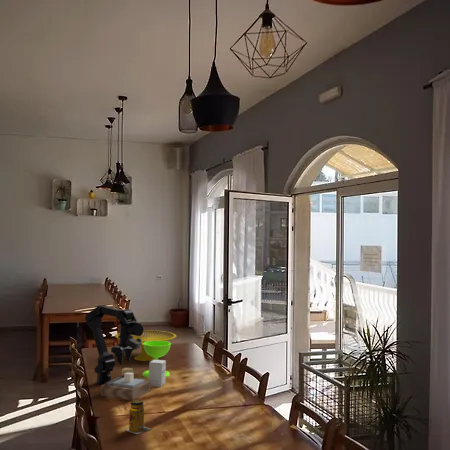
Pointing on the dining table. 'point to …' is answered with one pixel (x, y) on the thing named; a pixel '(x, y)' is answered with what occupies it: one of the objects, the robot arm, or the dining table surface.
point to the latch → (127, 370)
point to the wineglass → (156, 352)
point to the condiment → (137, 417)
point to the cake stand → (144, 355)
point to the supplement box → (157, 372)
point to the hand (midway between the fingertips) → (124, 363)
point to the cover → (128, 381)
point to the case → (124, 390)
